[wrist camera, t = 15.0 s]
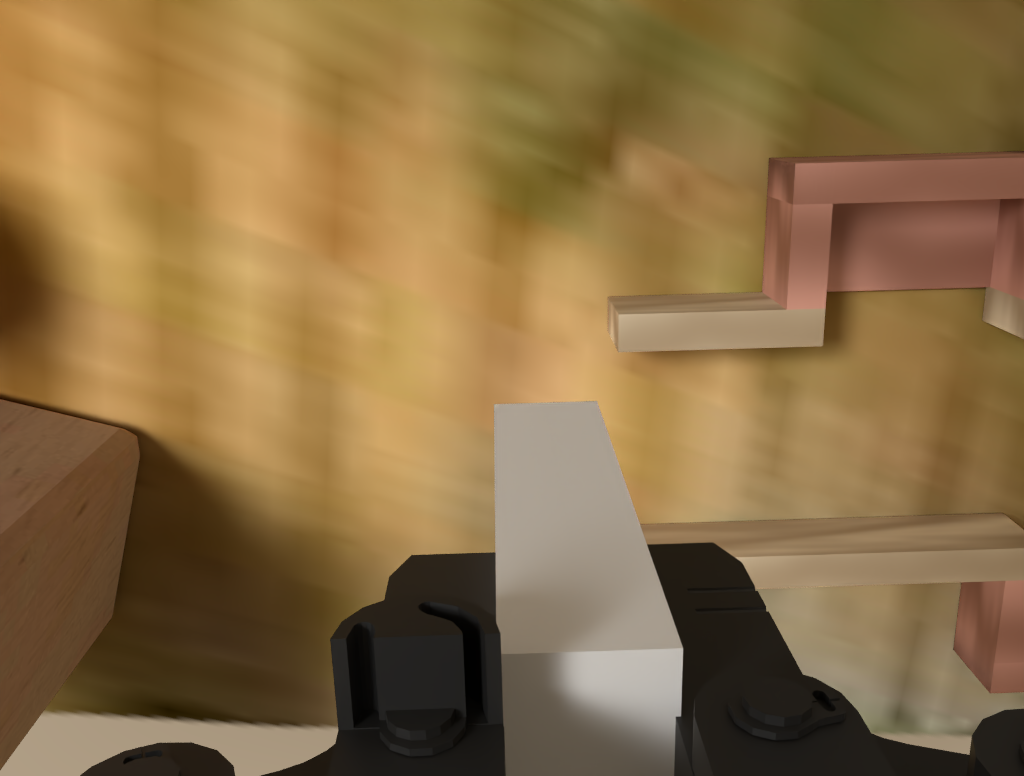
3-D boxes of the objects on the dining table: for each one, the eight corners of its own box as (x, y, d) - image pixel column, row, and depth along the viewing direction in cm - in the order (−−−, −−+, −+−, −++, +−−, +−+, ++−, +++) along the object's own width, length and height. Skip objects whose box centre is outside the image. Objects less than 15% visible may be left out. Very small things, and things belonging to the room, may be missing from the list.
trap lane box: (608, 162, 39) (629, 173, 33) (1428, 140, 39) (1590, 147, 33) (606, 661, 45) (623, 742, 40) (1307, 637, 46) (1424, 715, 40)
